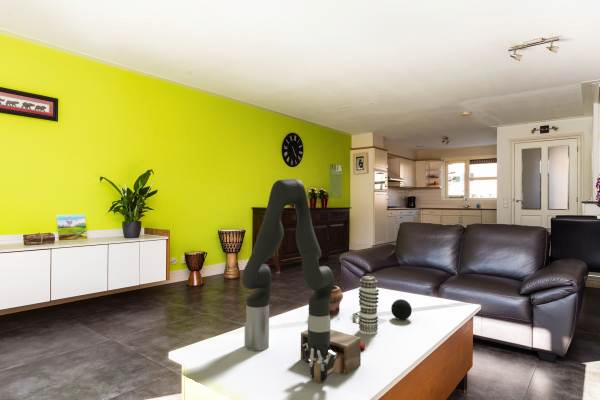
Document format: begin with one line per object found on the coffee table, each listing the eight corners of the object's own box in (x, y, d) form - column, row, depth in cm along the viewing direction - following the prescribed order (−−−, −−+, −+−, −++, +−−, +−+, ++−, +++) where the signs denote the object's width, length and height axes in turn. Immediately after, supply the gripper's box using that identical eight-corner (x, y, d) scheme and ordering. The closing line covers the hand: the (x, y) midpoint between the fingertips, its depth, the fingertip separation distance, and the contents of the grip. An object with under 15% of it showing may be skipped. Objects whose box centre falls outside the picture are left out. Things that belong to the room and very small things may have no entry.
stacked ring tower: (378, 335, 161) (379, 279, 161) (357, 333, 163) (358, 278, 163) (378, 328, 170) (378, 275, 170) (358, 327, 172) (359, 274, 172)
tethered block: (309, 380, 120) (309, 362, 120) (334, 364, 132) (334, 347, 132) (322, 384, 117) (322, 366, 117) (346, 368, 129) (346, 351, 129)
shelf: (300, 359, 136) (300, 332, 136) (316, 350, 144) (316, 325, 144) (346, 375, 124) (346, 346, 124) (360, 365, 132) (360, 337, 132)
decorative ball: (407, 324, 177) (407, 303, 177) (388, 319, 183) (388, 300, 183) (414, 318, 185) (414, 299, 185) (395, 315, 191) (395, 296, 191)
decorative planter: (326, 320, 181) (327, 293, 181) (307, 315, 188) (307, 289, 188) (348, 311, 196) (348, 285, 196) (329, 307, 204) (329, 282, 204)
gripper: (295, 325, 121) (295, 376, 121) (330, 335, 113) (330, 390, 113) (308, 319, 127) (308, 368, 127) (343, 328, 119) (342, 381, 119)
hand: (318, 378), depth 120 cm, fingers closed on tethered block, 3 cm apart
